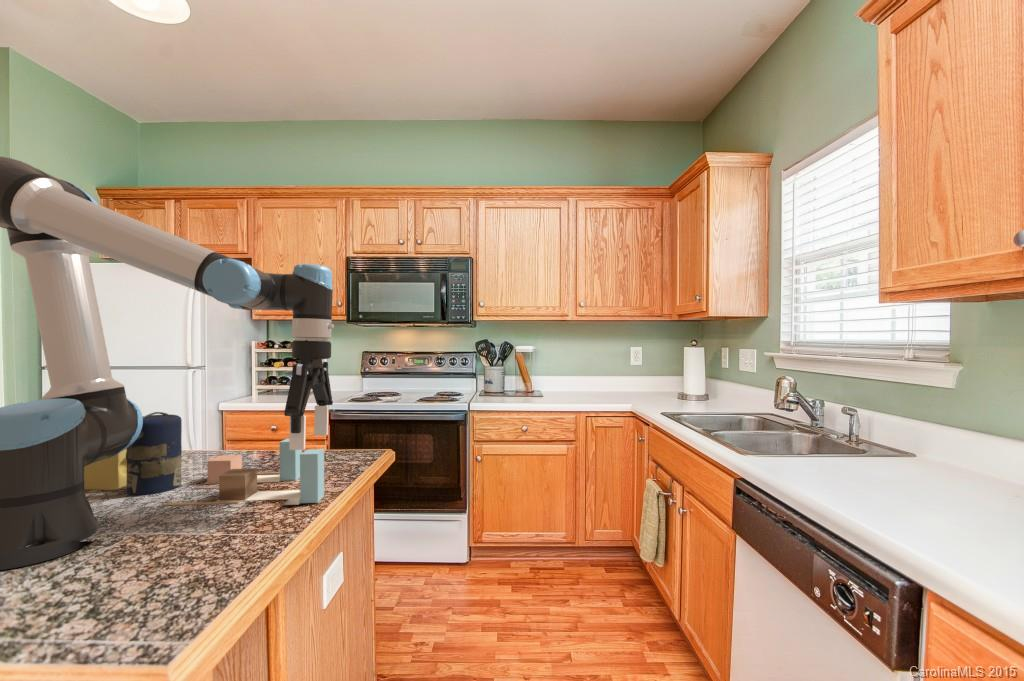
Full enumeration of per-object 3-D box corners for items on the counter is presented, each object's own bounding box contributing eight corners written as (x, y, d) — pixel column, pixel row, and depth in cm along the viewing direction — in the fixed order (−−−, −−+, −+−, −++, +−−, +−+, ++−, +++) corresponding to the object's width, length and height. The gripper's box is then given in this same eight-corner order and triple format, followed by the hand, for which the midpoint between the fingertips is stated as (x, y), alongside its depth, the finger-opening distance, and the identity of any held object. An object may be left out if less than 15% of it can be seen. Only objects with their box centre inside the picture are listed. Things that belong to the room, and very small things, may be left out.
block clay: (230, 482, 103) (230, 460, 103) (207, 483, 103) (207, 461, 103) (241, 476, 108) (241, 454, 108) (219, 476, 108) (219, 455, 108)
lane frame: (237, 510, 90) (237, 502, 90) (162, 513, 89) (162, 504, 89) (282, 478, 111) (282, 471, 111) (222, 480, 110) (222, 473, 110)
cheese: (159, 477, 113) (158, 437, 113) (117, 492, 102) (116, 447, 102) (120, 476, 114) (120, 436, 114) (74, 490, 103) (74, 446, 103)
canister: (117, 497, 98) (117, 413, 98) (167, 485, 106) (167, 407, 106) (140, 505, 93) (139, 416, 93) (190, 491, 102) (190, 410, 102)
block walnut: (245, 499, 92) (245, 475, 92) (219, 500, 92) (219, 475, 92) (257, 491, 97) (257, 468, 97) (232, 492, 97) (232, 468, 97)
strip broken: (294, 486, 104) (294, 442, 104) (204, 489, 103) (204, 444, 103) (303, 479, 110) (303, 437, 110) (218, 481, 108) (218, 439, 108)
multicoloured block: (316, 504, 93) (316, 454, 93) (215, 507, 91) (215, 457, 91) (325, 494, 98) (325, 448, 98) (230, 497, 97) (230, 450, 97)
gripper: (308, 340, 83) (306, 456, 83) (347, 340, 108) (345, 430, 108) (266, 339, 83) (263, 456, 83) (314, 339, 108) (312, 430, 108)
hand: (309, 441), depth 95 cm, fingers open, 13 cm apart
